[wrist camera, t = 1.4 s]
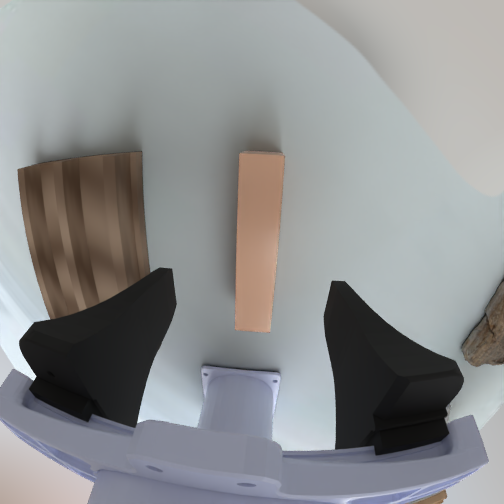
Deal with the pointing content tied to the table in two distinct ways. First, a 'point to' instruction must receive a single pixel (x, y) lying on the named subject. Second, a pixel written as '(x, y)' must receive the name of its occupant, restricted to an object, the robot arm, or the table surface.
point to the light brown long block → (257, 237)
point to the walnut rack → (85, 228)
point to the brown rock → (488, 334)
